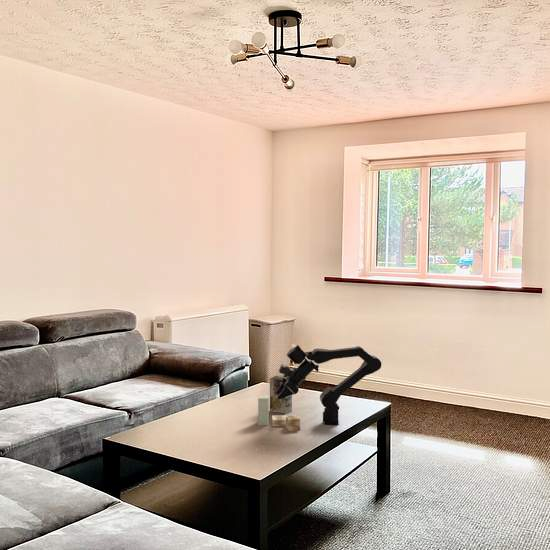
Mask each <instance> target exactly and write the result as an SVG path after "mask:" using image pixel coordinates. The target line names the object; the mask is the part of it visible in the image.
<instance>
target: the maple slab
mask: <svg viewBox="0 0 550 550" xmlns="http://www.w3.org/2000/svg"><path fill="white" fill-rule="evenodd" d="M286 416H289V415H287V414H285V415H279V414H278V415H271V422H272V423H271V424H272V427H286Z"/></svg>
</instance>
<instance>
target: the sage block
mask: <svg viewBox="0 0 550 550" xmlns="http://www.w3.org/2000/svg"><path fill="white" fill-rule="evenodd" d="M257 397H258V398H257V408H258V409H257V410H258V411H257V425H258V426H269V423H270V421H269V419H270V418H269V416H270V415H269V413H270V396H269V395H257Z"/></svg>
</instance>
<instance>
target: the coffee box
mask: <svg viewBox="0 0 550 550" xmlns="http://www.w3.org/2000/svg"><path fill="white" fill-rule="evenodd" d="M283 377H284V376H283V375H274V376H271V377H269V412H272V411H273V412H274V413H278V412H279V413H280V414H285V415H287V414H288V413H290V411H291V412H292V411H293V404H292V403H293V395H290V396H287V397H285V398H282V399H279V400H278V399H277V397H278V396H279V394H280V393H279V394H277V393H276V392H277V390H278V389H279V387H280V385H281V384H282V382H283ZM284 378H285V377H284ZM273 412H272V413H273Z"/></svg>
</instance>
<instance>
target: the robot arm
mask: <svg viewBox="0 0 550 550" xmlns="http://www.w3.org/2000/svg"><path fill="white" fill-rule="evenodd" d="M286 357H287V358H289V360H290V361H291V362H292V363H294V364H295V365H297V367H294V368H291V367H290V366H287V365H285V364H283V363H282V364H281V365H280V366H279V368H278V372H279V374H283V375H282V376H283V382H282V384H281V385H280V387H279V389H278V390H277V392H276V393H277V394H279V393H280V394H279V396H278V397H277V399H278V400H279V399H282V398H285V397H287V396H290V395H292V396H294V395H296V394H298V393H299V388H300V384H301V382H303V381H305V380H306V378H307V377H308V376H309V375H310V374H311V373H312V372H313V371H314V370H315V371H316V373H317V372H319V367H320V366H319V365H320V364H324V363H327V362H330V361H331V360H337V359H348V358H354V357H359V358H361V360H363V362H362V363H361V365H360V367H358V368H357V369H356V370H355V371H353V372H352V373H350V375H349V376H347V377H346V378H344V379H343V380H342V381H340V383H338V384H337V385H336V386H334V387H330V386H329V385H328V386H327V387H326V388H324V390H321V394H320V395H319V401H320V403H321V405H322V406H323V407H324V409H323V411H322V423H323V425H330V426H331V425H332V426H339V423H340V422H339V420H340V419H339V410H340V406H339V404H338V403H337V402H338V400H339V399H340V397H341V396H342V395H343V394H345V392H347V391H348V390H350V389H351V388H352V387H353V386H355V385H356V384H357V383H359V382H360V381H361V380H362V379H363V378H365V377H366V376H369V375H371V374H375V373H376V372H378V371H380V369H381V368H382V361H381V359H379V358H378V357H377V356H375V355H371V354H369V353H368V352H367V350H365V349H364V348H363V347H362V346H359V345H358V346H353V347H343V348H337V349H336V348H335V349H328V348H327V349H326V348H315V349H313V350H312V351H304V350H303V349H302V348H301V346H300V345H298V344H297V345H296V346H294V347H292V348H290V349H289V351H288V352H287V354H286ZM284 377H285V378H284Z"/></svg>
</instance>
